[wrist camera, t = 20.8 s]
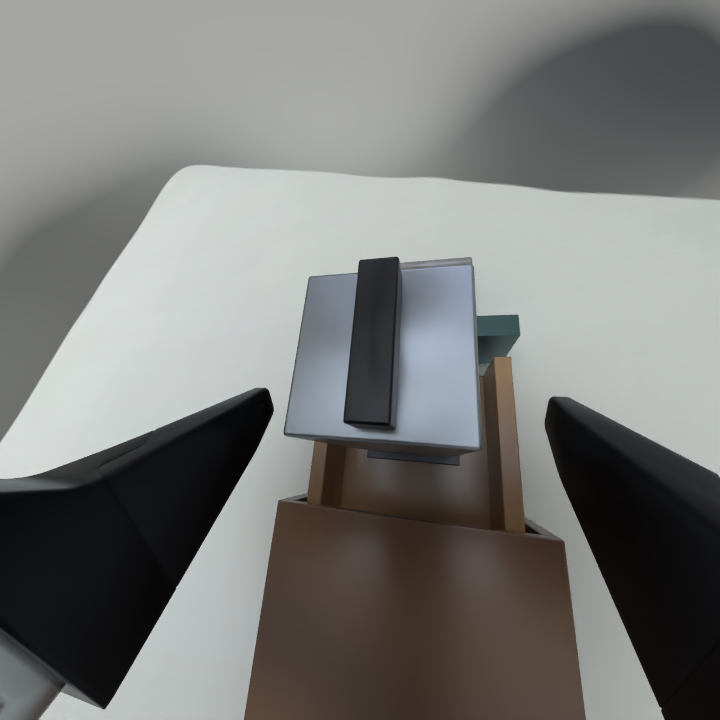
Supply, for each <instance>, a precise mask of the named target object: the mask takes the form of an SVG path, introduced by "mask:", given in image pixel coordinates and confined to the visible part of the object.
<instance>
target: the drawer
mask: <svg viewBox="0 0 720 720" xmlns="http://www.w3.org/2000/svg"><path fill="white" fill-rule="evenodd" d="M467 264H471V265H472V258H471V257H466V258H454V259H442V260H430V261H418V262H406V263H400V267H401V270H403V269H415V268H428V267H441V266H454V265H467ZM476 321H477V342H478V363H490V365H489V367H488V369H487V370H486V372H485V374H484V376H479V384H480V406H481V427H482V449H481V450H479V451H476V452H472V453H467V454H463V455H460V465H459V466H457V465H446V464H435V463H424V462H413V461H402V460H391V459H380V458H369V457H367V450H365V449H359V448H353V447H347V446H341V445H335V444H330V443H324V442H318V441H315V442H314V450H313V458H312V466H311V473H310V481H309V489H308V497H307V502H309V503H316V504H323V505H330V506H337V507H345V508H352V509H359V510H366V511H373V512H381V513H388V514H395V515H402V516H409V517H416V518H424V519H431V520H438V521H445V522H452V523H460V524H467V525H474V526H481V527H488V528H496V529H503V530H510V531H517V532H524V533H526V532H525V520H524V508H523V496H522V484H521V472H520V460H519V448H518V437H517V425H516V413H515V401H514V389H513V377H512V365H511V357H506V356H507V354H508V353H509V351H510V350H511V348H512V347H513V345H514V344H515V342H516V341H517V339H518V338H519V336H520V327H519V317H518V315H496V316H476Z"/></svg>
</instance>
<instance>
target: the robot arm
mask: <svg viewBox="0 0 720 720" xmlns="http://www.w3.org/2000/svg"><path fill="white" fill-rule="evenodd" d="M273 412H274V407H273V403H272V400H271V396H270V393H269V390H268V389H266V388H254V389H252V390H250V391H247V392H245V393H242V394H240V395H238V396H235V397H233V398H230V399H228V400H225V401H223V402H221V403H218V404H216V405H213V406H211V407H209V408H206V409H204V410H201V411H199V412H197V413H194V414H192V415H189V416H187V417H185V418H182V419H180V420H177V421H175V422H173V423H170V424H168V425H165V426H163V427H161V428H158V429H156V430H155V431H151V432H148V433H146V434H144V435H141V436H139V437H136V438H134V439H131V440H129V441H126V442H124V443H121V444H119V445H116V446H114V447H111V448H108V449H106V450H103V451H101V452H98V453H95V454H93V455H90V456H87V457H84V458H82V459H79V460H76V461H74V462H71V463H68V464H66V465H63V466H60V467H58V468H55V469H52V470H50V471H47V472H44V473H41V474H37V475H33V476H28V477H23V478H14V479H0V720H39V718H40V717H41V716H42V714H43V713H44V712H45V711H46V709H47V708H48V707H49V706H50V704H51V703H52V702H53V701H54V699H55V698H56V697H57V695H58V694H59V693H60V692H63V693H65V694H68V695H70V696H73V697H75V698H77V699H80V700H82V701H85V702H87V703H89V704H92V705H94V706H96V707H99V708H101V709H105V708H106V707H107V706H108V704H109V703H110V701H111V700H112V698H113V697H114V695H115V693H116V692H117V690H118V688H119V686H120V685H121V683H122V681H123V679H124V678H125V676H126V674H127V673H128V671H129V669H130V667H131V666H132V664H133V662H134V661H135V659H136V657H137V655H138V654H139V652H140V650H141V648H142V647H143V645H144V643H145V642H146V640H147V638H148V636H149V635H150V633H151V631H152V629H153V628H154V626H155V624H156V623H157V621H158V619H159V617H160V616H161V614H162V612H163V611H164V609H165V607H166V605H167V604H168V602H169V600H170V598H171V597H172V595H173V593H174V592H175V590H176V587H177V586H178V584H179V583H180V581H181V579H182V577H183V576H184V574H185V572H186V571H187V569H188V567H189V565H190V564H191V562H192V560H193V558H194V557H195V555H196V553H197V552H198V550H199V548H200V546H201V545H202V543H203V541H204V540H205V538H206V536H207V534H208V533H209V531H210V529H211V527H212V526H213V524H214V522H215V521H216V519H217V517H218V515H219V514H220V512H221V510H222V509H223V507H224V505H225V503H226V502H227V500H228V498H229V496H230V495H231V493H232V491H233V490H234V488H235V486H236V484H237V483H238V481H239V479H240V478H241V476H242V474H243V472H244V471H245V469H246V467H247V466H248V464H249V462H250V460H251V459H252V457H253V455H254V453H255V452H256V450H257V448H258V446H259V444H260V441H261V439H262V437H263V435H264V433H265V430H266V428H267V426H268V424H269V422H270V419H271V417H272V415H273ZM545 429H546V433H547V436H548V440H549V443H550V446H551V450H552V453H553V457H554V460H555V463H556V467H557V470H558V473H559V476H560V479H561V481H562V484H563V486H564V488H565V491H566V493H567V495H568V498H569V500H570V502H571V504H572V507H573V509H574V511H575V514H576V516H577V518H578V521H579V523H580V525H581V527H582V530H583V532H584V534H585V537H586V539H587V541H588V544H589V546H590V548H591V550H592V553H593V555H594V557H595V560H596V562H597V564H598V567H599V569H600V571H601V573H602V576H603V578H604V580H605V583H606V585H607V587H608V589H609V592H610V594H611V596H612V599H613V601H614V603H615V606H616V608H617V610H618V612H619V615H620V617H621V619H622V622H623V624H624V626H625V629H626V631H627V633H628V635H629V638H630V640H631V642H632V645H633V647H634V649H635V651H636V654H637V656H638V658H639V661H640V663H641V665H642V668H643V670H644V672H645V674H646V677H647V679H648V681H649V684H650V686H651V688H652V691H653V693H654V695H655V697H656V700H657V702H658V704H659V706H660V707H661V708H662V710H661V712H662V714H663V717H664V719H665V720H720V478H719V476H718V475H717V474H716V473H714V472H712V471H710V470H708V469H706V468H704V467H702V466H700V465H698V464H696V463H694V462H692V461H691V460H689V459H687V458H685V457H683V456H681V455H679V454H677V453H675V452H673V451H671V450H669V449H667V448H665V447H663V446H661V445H660V444H658V443H656V442H654V441H652V440H650V439H648V438H646V437H644V436H642V435H640V434H638V433H636V432H634V431H632V430H630V429H629V428H627V427H625V426H623V425H621V424H619V423H617V422H615V421H613V420H611V419H609V418H607V417H605V416H603V415H601V414H600V413H598V412H596V411H594V410H592V409H590V408H588V407H586V406H584V405H582V404H580V403H578V402H576V401H574V400H572V399H571V398H568V397H551V398H550V400H549V402H548V407H547V412H546V417H545Z"/></svg>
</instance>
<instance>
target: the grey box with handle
mask: <svg viewBox="0 0 720 720" xmlns="http://www.w3.org/2000/svg"><path fill="white" fill-rule="evenodd" d="M284 435H285V436H288V437H294V438H300V439H306V440H312V441H318V442H324V443H330V444H335V445H341V446H347V447H353V448H359V449H365V450H367V457H369V458H380V459H391V460H402V461H413V462H424V463H435V464H446V465H457V466H459V465H460V455H463V454H467V453H472V452H476V451H479V450H481V449H482V427H481V406H480V384H479V363H478V342H477V321H476V300H475V278H474V267H473V265H471V264H467V265H454V266H441V267H428V268H415V269H403V270H401V267H400V262H399V258H398V257H389V258H377V259H366V260H360V261H359V266H358V273H351V274H338V275H325V276H312V277H309V280H308V286H307V292H306V298H305V304H304V310H303V316H302V323H301V329H300V335H299V341H298V347H297V353H296V360H295V366H294V372H293V378H292V384H291V390H290V396H289V403H288V409H287V415H286V421H285V427H284Z"/></svg>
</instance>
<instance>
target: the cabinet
mask: <svg viewBox="0 0 720 720" xmlns="http://www.w3.org/2000/svg"><path fill="white" fill-rule="evenodd" d="M307 497H308V493H306V494H302V495H298V496H294V497H290V498H286V499H283V500H279V501H278V506H277V513H276V519H275V526H274V532H273V538H272V545H271V551H270V557H269V564H268V570H267V577H266V583H265V589H264V596H263V602H262V608H261V615H260V621H259V627H258V634H257V640H256V647H255V653H254V659H253V666H252V672H251V678H250V685H249V691H248V698H247V704H246V710H245V717H244V720H586V718H585V710H584V702H583V693H582V685H581V677H580V668H579V660H578V652H577V643H576V635H575V627H574V618H573V610H572V602H571V593H570V585H569V577H568V568H567V560H566V552H565V543H564V541H563V540H561V539H560V538H558V537H556V536H555V535H553V534H552V533H550V532H548V531H547V530H545V529H544V528H542V527H540V526H539V525H537V524H536V523H534V522H532V521H531V520H529V519H527V518H526V517H524V520H525V532H526V533H524V532H517V531H510V530H503V529H496V528H488V527H481V526H474V525H467V524H460V523H452V522H445V521H438V520H431V519H424V518H416V517H409V516H402V515H395V514H388V513H381V512H373V511H366V510H359V509H352V508H345V507H337V506H330V505H323V504H316V503H309V502H307Z"/></svg>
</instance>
